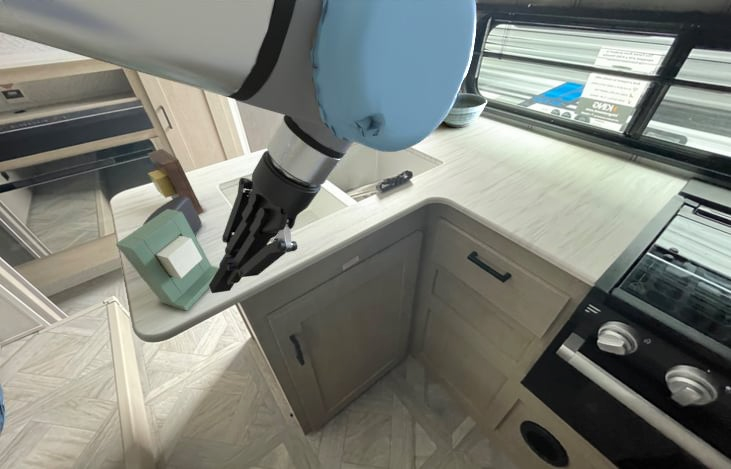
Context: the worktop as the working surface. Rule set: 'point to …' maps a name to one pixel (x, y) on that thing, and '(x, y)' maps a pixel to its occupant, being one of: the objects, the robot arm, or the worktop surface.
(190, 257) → the protruding squarish ivory block
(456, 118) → the bowl
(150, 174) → the brass switch
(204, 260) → the pale green angular block
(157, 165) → the brown switch panel
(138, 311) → the worktop surface
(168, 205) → the leaning round-cornered charcoal block
